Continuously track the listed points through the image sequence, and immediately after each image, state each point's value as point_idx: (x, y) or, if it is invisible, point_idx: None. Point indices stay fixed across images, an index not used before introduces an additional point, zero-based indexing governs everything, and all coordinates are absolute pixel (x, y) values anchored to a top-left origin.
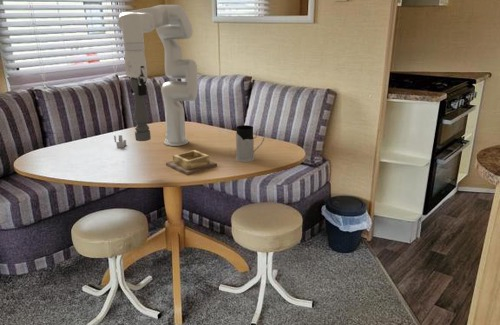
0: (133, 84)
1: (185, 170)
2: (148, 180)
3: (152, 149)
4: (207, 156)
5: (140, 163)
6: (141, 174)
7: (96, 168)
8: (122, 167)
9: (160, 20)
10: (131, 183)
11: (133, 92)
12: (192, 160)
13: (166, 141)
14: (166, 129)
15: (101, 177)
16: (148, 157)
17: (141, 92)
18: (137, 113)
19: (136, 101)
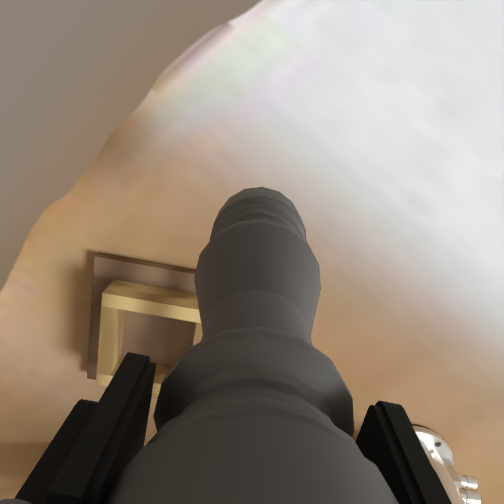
0: (198, 488)
1: (112, 266)
2: (161, 124)
3: (427, 366)
4: (97, 376)
5: (342, 233)
6: (237, 151)
7: (461, 75)
8: (369, 156)
9: None
10: (187, 56)
11: (369, 422)
12: (101, 313)
13: (432, 443)
14: (451, 489)
15: (350, 15)
16: (369, 297)
17: (85, 404)
18: (233, 247)
19: (242, 311)
